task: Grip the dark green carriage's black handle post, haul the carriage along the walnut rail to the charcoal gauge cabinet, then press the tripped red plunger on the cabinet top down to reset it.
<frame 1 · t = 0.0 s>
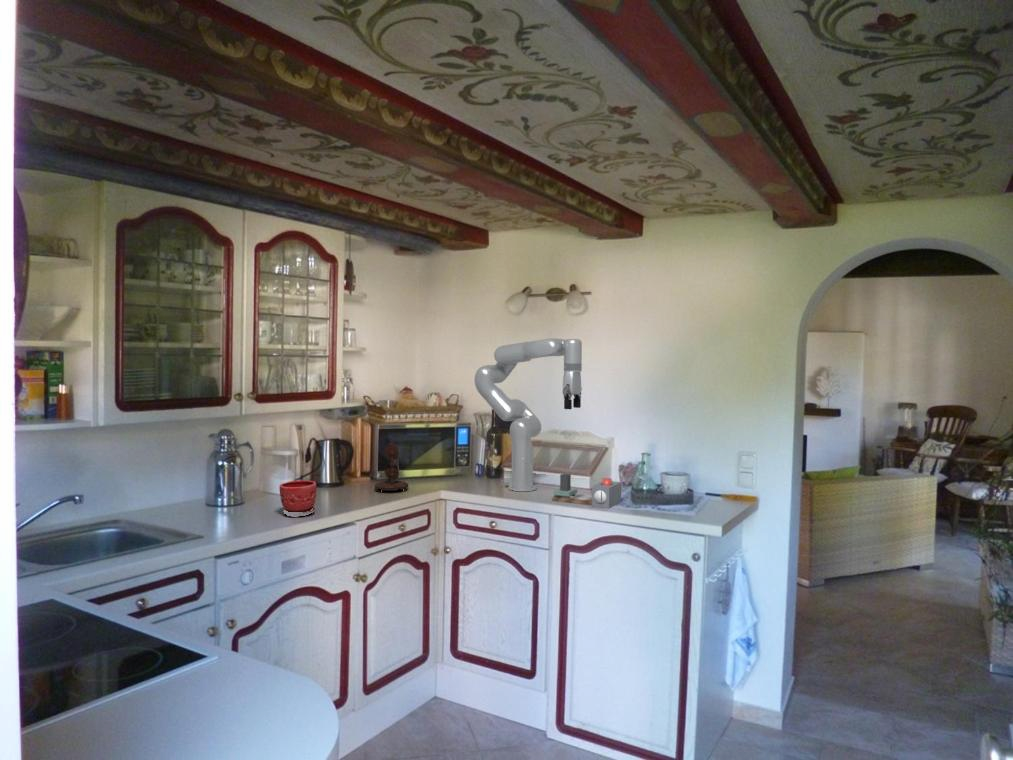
hand: (572, 408, 306), 37 cm above the countertop, tool pointing down, fingers open, 9 cm apart
carriage: (565, 484, 296), point 6 cm above the countertop, slide at 0.0 cm
dark wooden figurine: (391, 491, 316), on the countertop
plant pot: (298, 515, 268), on the countertop
rail board: (577, 501, 293), on the countertop
gauge cabinet: (606, 504, 287), on the countertop
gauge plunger: (606, 485, 287), point 8 cm above the countertop, slide at 0.0 cm
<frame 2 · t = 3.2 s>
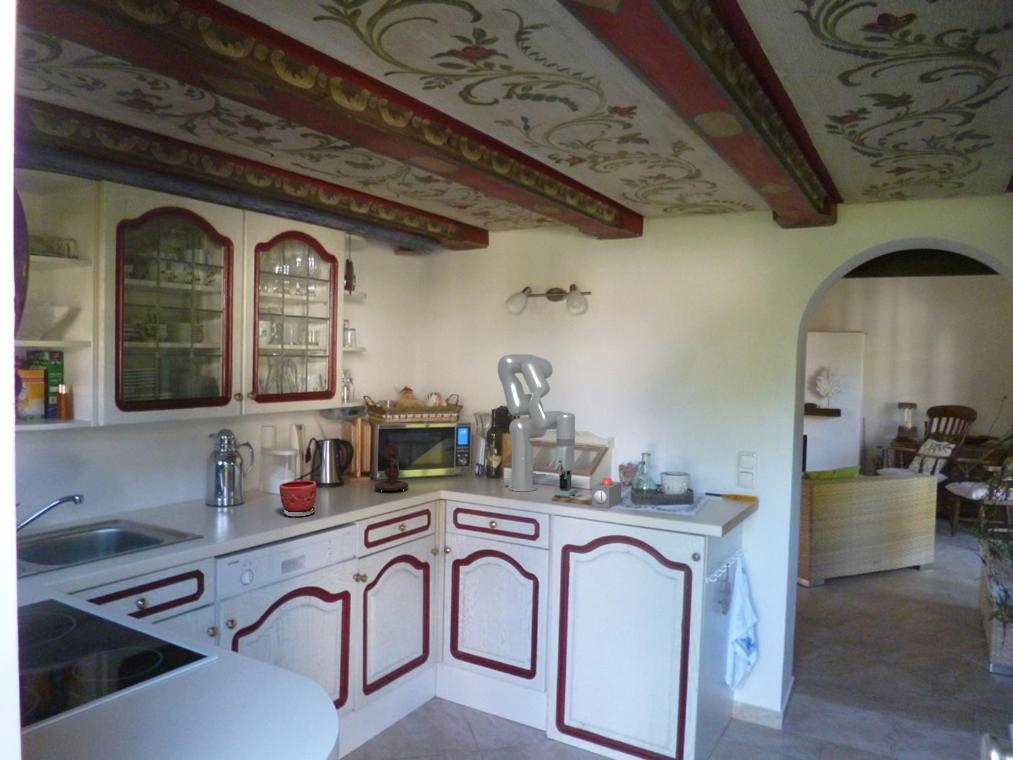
hand: (565, 487, 296), 5 cm above the countertop, tool pointing down, fingers closed on carriage, 3 cm apart
carriage: (565, 484, 296), point 6 cm above the countertop, slide at 0.0 cm, touching gripper
everything else where it was.
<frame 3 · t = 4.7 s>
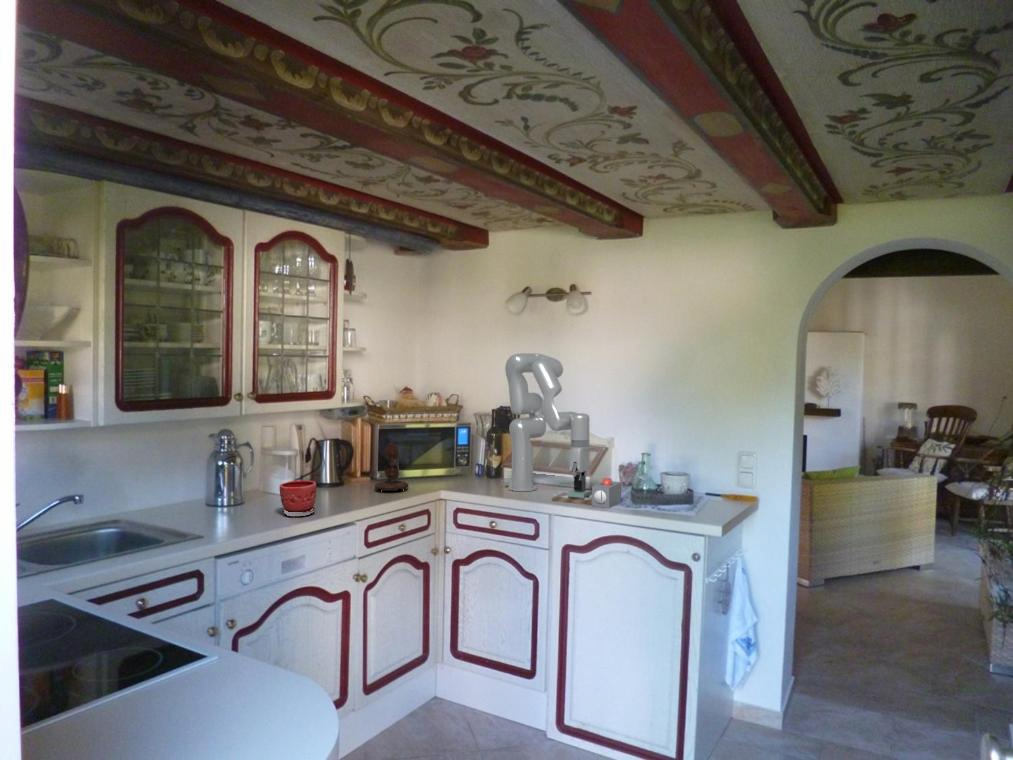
hand: (579, 488, 293), 5 cm above the countertop, tool pointing down, fingers closed on carriage, 3 cm apart
carriage: (579, 485, 293), point 6 cm above the countertop, slide at 6.4 cm, touching gripper
everything else where it was.
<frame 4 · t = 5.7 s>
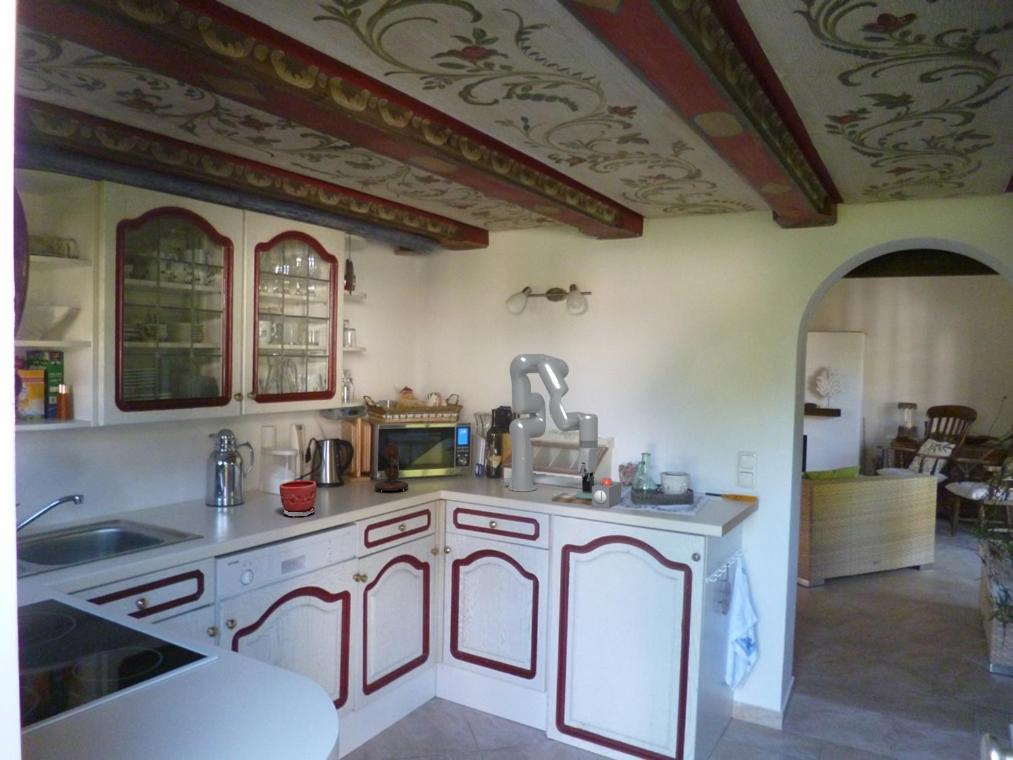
hand: (588, 489, 291), 5 cm above the countertop, tool pointing down, fingers closed on carriage, 3 cm apart
carriage: (588, 486, 291), point 6 cm above the countertop, slide at 10.0 cm, touching gripper
everything else where it was.
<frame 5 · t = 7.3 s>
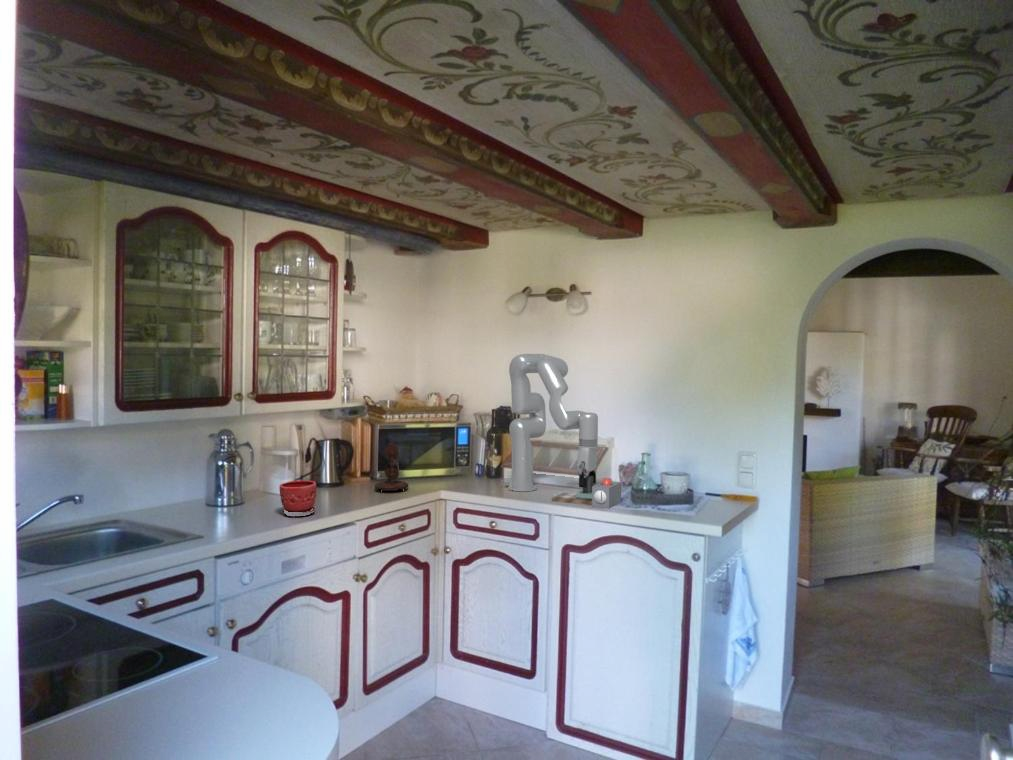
hand: (587, 485, 291), 7 cm above the countertop, tool pointing down, fingers open, 9 cm apart
carriage: (588, 486, 291), point 6 cm above the countertop, slide at 10.0 cm
everything else where it was.
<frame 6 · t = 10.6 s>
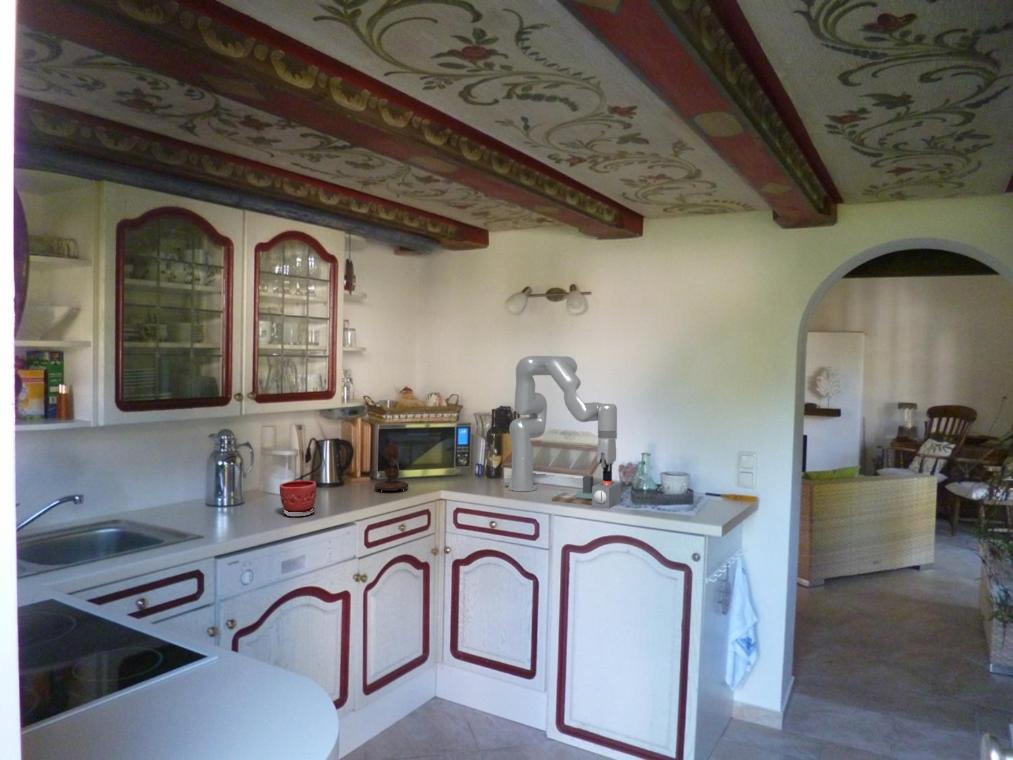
hand: (607, 480, 287), 9 cm above the countertop, tool pointing down, fingers closed
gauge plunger: (606, 487, 287), point 7 cm above the countertop, slide at 0.7 cm, touching gripper
everything else where it was.
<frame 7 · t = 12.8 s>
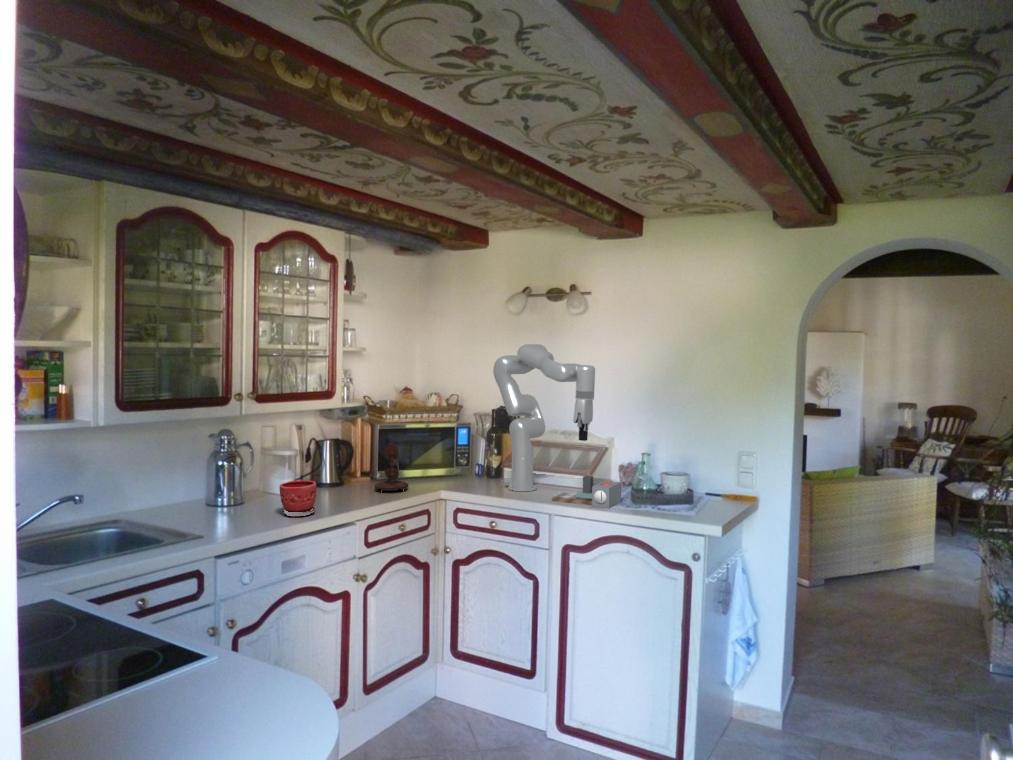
hand: (582, 440, 294), 25 cm above the countertop, tool pointing down, fingers closed
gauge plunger: (606, 489, 287), point 6 cm above the countertop, slide at 1.8 cm
everything else where it was.
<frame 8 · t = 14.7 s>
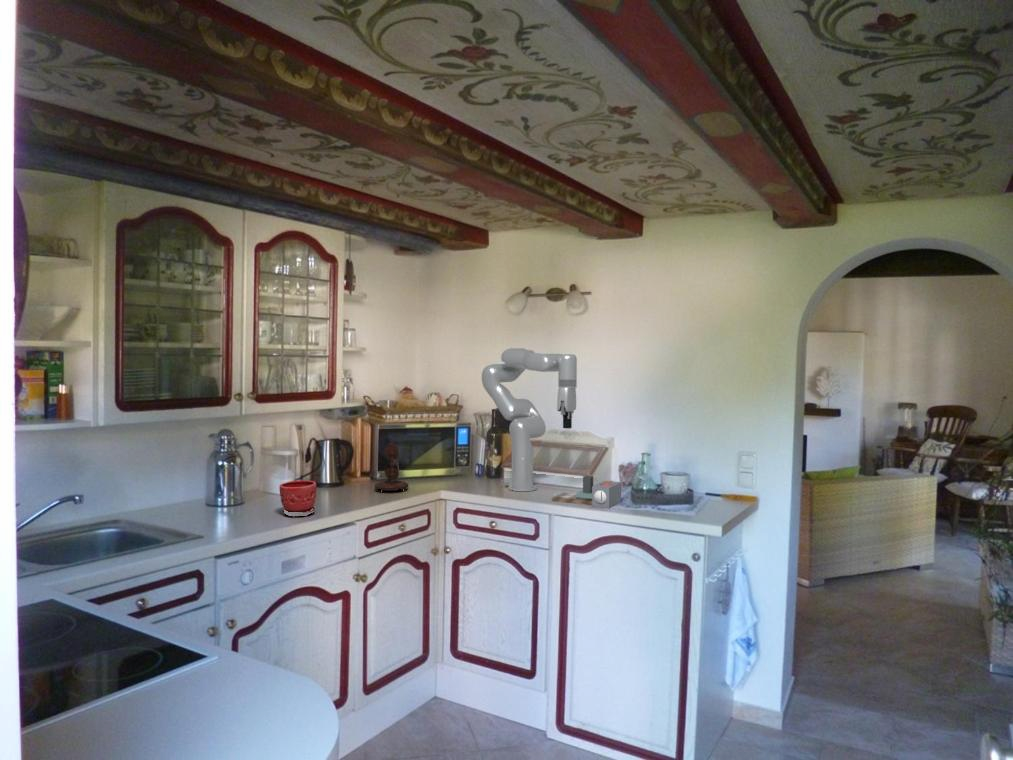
hand: (567, 428, 299), 29 cm above the countertop, tool pointing down, fingers closed
nothing on the countertop moved.
at the end: carriage slide at 10.0 cm; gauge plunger slide at 1.8 cm; the gripper is holding nothing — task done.
